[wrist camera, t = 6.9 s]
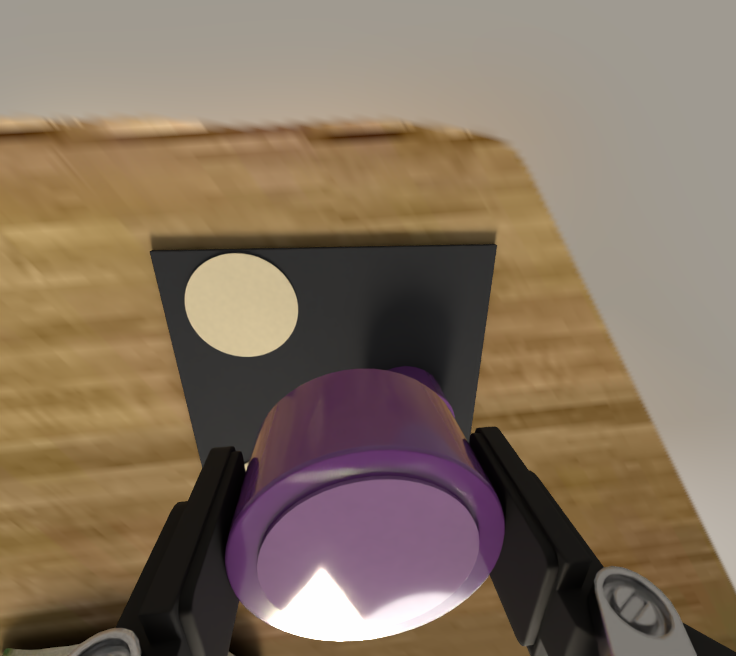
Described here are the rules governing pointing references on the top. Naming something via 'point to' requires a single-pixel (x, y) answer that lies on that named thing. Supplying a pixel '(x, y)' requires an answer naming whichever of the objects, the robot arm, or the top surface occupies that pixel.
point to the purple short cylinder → (361, 511)
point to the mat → (318, 324)
